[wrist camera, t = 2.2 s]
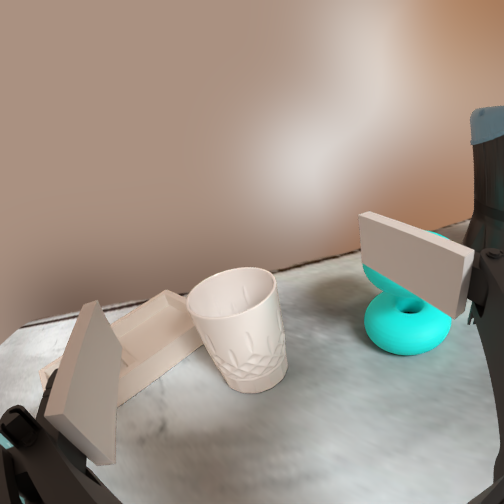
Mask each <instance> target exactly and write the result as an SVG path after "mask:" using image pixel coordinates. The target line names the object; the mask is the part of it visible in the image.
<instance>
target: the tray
mask: <svg viewBox="0 0 504 504" xmlns="http://www.w3.org/2000/svg"><path fill="white" fill-rule="evenodd" d="M110 326H111V328H112V330H113V332H114V333H115V335H116V337H117V339H118V341H119V342H120V344H121V346H122V356H121V364H120V374H119V385H118V398H117V407H119V406H120V405H122V404H123V403H124V402H126V401H127V400H129V399H130V398H131V397H133V396H134V395H136V394H137V393H138V392H140V391H141V390H143V389H144V388H145V387H147V386H148V385H149V384H151V383H152V382H154V381H155V380H156V379H158V378H159V377H160V376H162V375H163V374H164V373H166V372H167V371H168V370H170V369H171V368H172V367H174V366H175V365H176V364H178V363H179V362H180V361H182V360H183V359H184V358H186V357H187V356H188V355H190V354H191V353H192V352H193V351H195V350H196V349H197V348H199V347H200V346H201V345H203V344H204V343H203V341H202V339H201V337H200V335H199V333H198V331H197V329H196V327H195V325H194V323H193V321H192V319H191V316H190V314H189V312H188V310H187V308H186V298H185V297H182V296H180V295H178V294H176V293H173V292H171V291H169V290H167V289H166V290H165V291H163V292H161V293H160V294H158V295H157V296H155V297H153V298H152V299H150V300H149V301H147V302H145V303H144V304H142V305H141V306H139V307H137V308H136V309H134V310H133V311H131V312H130V313H128V314H126V315H125V316H123V317H122V318H120V319H118V320H117V321H115V322H114V323H112V324H111V325H110ZM62 357H63V355H62V356H61V357H59V358H58V359H56V360H55V361H53V362H52V363H50V364H48V365H47V366H45V367H44V368H42V369H41V370H39V376H40V380H41V383H42V387H43V391H44V390H46V389H45V387H46V384H47V381H48V378H49V377H50V376H51V374H52V373H53V371H54V370H55V369H57V368H59V365H60V362H61V359H62Z"/></svg>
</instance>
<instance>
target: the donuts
mask: <svg viewBox="0 0 504 504" xmlns="http://www.w3.org/2000/svg"><path fill="white" fill-rule="evenodd" d="M425 231H426V230H425ZM428 232H430V233H433V234H436V235H438V236H441V237H443V238H446V237H444V236H442V235H440V234H438V233H435V232H431V231H428ZM446 239H448V238H446ZM448 240H449V239H448ZM363 269H364V272H365V274H366V276H367V277H368V279H369V280H370V281H371V282H372V283H373V284H374V285H375V286H376V287H377V288H379V289H381V290H382V291H383V292H382V293H380V294H379V295H377V296H376V297H375V298H374V299H373V300H372V301H371V302H370V304H369V306H368V307H367V309H366V312H365V317H364V325H365V329H366V332H367V334H368V336H369V337H370V339H371V340H372V341H373V342H374V343H375V344H376V345H377V346H378V347H380V348H381V349H383V350H385V351H388V352H390V353H394V354H398V355H417V354H422V353H425V352H428V351H430V350H432V349H434V348H435V347H437V346H438V345H439V344H440V343H441V342H442V341H443V340H444V339H445V338H446V336H447V334H448V332H449V330H450V327H451V317H450V316H448V315H447V314H445V313H443V312H442V311H440V310H439V309H437V308H436V307H434V306H432V305H431V304H429V303H428V302H426V301H424V300H423V299H421V298H420V297H418V296H416V295H415V294H413V293H411V292H410V291H408V290H407V289H405V288H403V287H402V286H400V285H398V284H397V283H395V282H393V281H392V280H390V279H388V278H387V277H385V276H383V275H382V274H380V273H378V272H377V271H375V270H373V269H371V268H370V267H368V266H366V265H365V264H363ZM403 312H414V313H413V314H407V313H403Z"/></svg>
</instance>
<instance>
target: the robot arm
mask: <svg viewBox="0 0 504 504" xmlns="http://www.w3.org/2000/svg"><path fill="white" fill-rule="evenodd" d="M470 124H471V137H472V138H471V139H472V140H471V141H470V142H471V145H473V157H474V158H473V160H474V212H473V215H472V218H471V221H470V224H469V226H468V229H467V232H466V234H465V237H464V240H463V242H462V245H461V244H458V243H456V242H453V241H451V240H448V239H446V238H443V237H441V236H438V235H436V234H433V233H430V232H428V231H425V230H422V229H419V228H417V227H414V226H411V225H408V224H406V223H403V222H400V221H397V220H394V219H391V218H388V217H385V216H382V215H379V214H376V213H373V212H370V211H369V212H365V213H362V214H359V215H358V219H359V230H360V241H361V258H362V263H363V264H365V265H366V266H368V267H370V268H371V269H373V270H375V271H377V272H378V273H380V274H382V275H383V276H385V277H387V278H388V279H390V280H392V281H393V282H395V283H397V284H398V285H400V286H402V287H403V288H405V289H407V290H408V291H410V292H411V293H413V294H415V295H416V296H418V297H420V298H421V299H423V300H424V301H426V302H428V303H429V304H431V305H432V306H434V307H436V308H437V309H439V310H440V311H442V312H443V313H445V314H447V315H448V316H450V317H451V318H453V319H454V320H455V319H456V318H457V317H458V316H459V315H461V314H462V313H463V312H464V311H465V307H466V302H467V298H468V299H469V300H471V301H472V305H471V309H470V313H469V318H468V325H470V322H471V319H472V318H474V322H473V324H476V325H477V329H478V332H479V335H480V338H481V342H482V345H483V349H484V353H485V356H486V360H487V364H488V368H489V373H490V377H491V382H492V387H493V392H494V397H495V403H496V410H497V417H498V424H499V434H500V450H499V453H498V456H497V458H496V461H495V465H494V479H493V484H492V485H491V486H490V487H489V488H487V489H486V490H485V491H483V492H482V493H481V494H479V495H478V496H477V497H475V498H474V499H472V500H471V501H469V502H468V503H467V504H504V106H495V107H486V108H479V109H476V110H474V111H473V112H472V114H471V117H470ZM121 356H122V346H121V344H120V342H119V341H118V339H117V337H116V335H115V333H114V332H113V330H112V328H111V326H110V324H109V322H108V320H107V318H106V316H105V315H104V313H103V311H102V309H101V307H100V305H99V303H98V300H96V301H93V302H90V303H87V304H84V305H83V307H82V309H81V311H80V314H79V316H78V318H77V321H76V323H75V326H74V328H73V331H72V333H71V336H70V338H69V341H68V343H67V346H66V348H65V351H64V354H63V357H62V359H61V362H60V365H59V368H57V369H55V370H54V371H53V373H52V374H51V376H50V377H49V378H48V381H47V384H46V387H45V389H46V390H44V393H43V398H42V400H41V403H40V406H39V409H38V413H37V416H36V420H35V419H34V418H33V417H32V416H31V414H30V413H29V412H28V411H27V410H26V409H25V408H24V407H23V406H21V405H16V406H13V407H11V408H9V409H8V410H7V411H6V412H5V413H4V414H3V416H2V417H1V419H0V433H1V434H2V435H3V436H4V437H5V438H6V439H7V440H8V441H9V442H10V443H11V444H12V445H13V447H10V448H8V449H5V448H4V447H3V446H2V445H1V444H0V504H23V503H22V501H21V499H20V496H21V497H22V498H24V501H25V504H122V503H121V502H120V501H119V500H118V499H117V498H116V497H115V496H114V495H113V494H112V493H111V491H110V490H109V489H108V488H107V487H106V486H105V485H104V484H103V483H102V482H101V481H100V480H99V478H98V477H97V476H96V475H95V474H94V473H93V472H92V471H91V470H90V469H89V468H88V467H86V459H87V458H88V459H89V460H90V461H92V462H93V463H94V464H95V465H97V466H100V465H110V464H116V415H117V398H118V385H119V374H120V364H121Z"/></svg>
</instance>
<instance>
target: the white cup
mask: <svg viewBox="0 0 504 504" xmlns="http://www.w3.org/2000/svg"><path fill="white" fill-rule="evenodd" d="M186 308H187V310H188V312H189V314H190V316H191V319H192V321H193V323H194V325H195V327H196V329H197V331H198V333H199V335H200V337H201V339H202V341H203V343H204V345H205V347H206V349H207V351H208V353H209V355H210V356H211V358H212V359H213V361H214V363H215V365H216V367H217V368H218V369H219V370H220V372H221V374H222V376H223V378H224V379H225V381H226V382H227V384H228V385H229V387H230V388H232V389H234V390H236V391H239V392H241V393H260V392H262V391H265V390H268V389H271V388H273V387H274V386H275V385H276V384H277V383H279V382H280V381H281V380H282V379H283V378H284V375H285V373H286V371H287V368H288V363H287V357H286V349H285V345H286V342H285V333H284V326H283V320H282V313H281V307H280V301H279V295H278V289H277V283H276V279H275V277H274V275H273V274H272V273H270V272H269V271H267V270H264V269H261V268H255V267H243V268H235V269H230V270H226V271H223V272H220V273H217V274H215V275H212V276H210V277H208V278H206V279H205V280H203V281H201V282H200V283H199V284H197V285H196V286H195V287H194V288H193V289H192V290H191V291H190V293H189V294H188V296H187V298H186Z"/></svg>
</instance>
